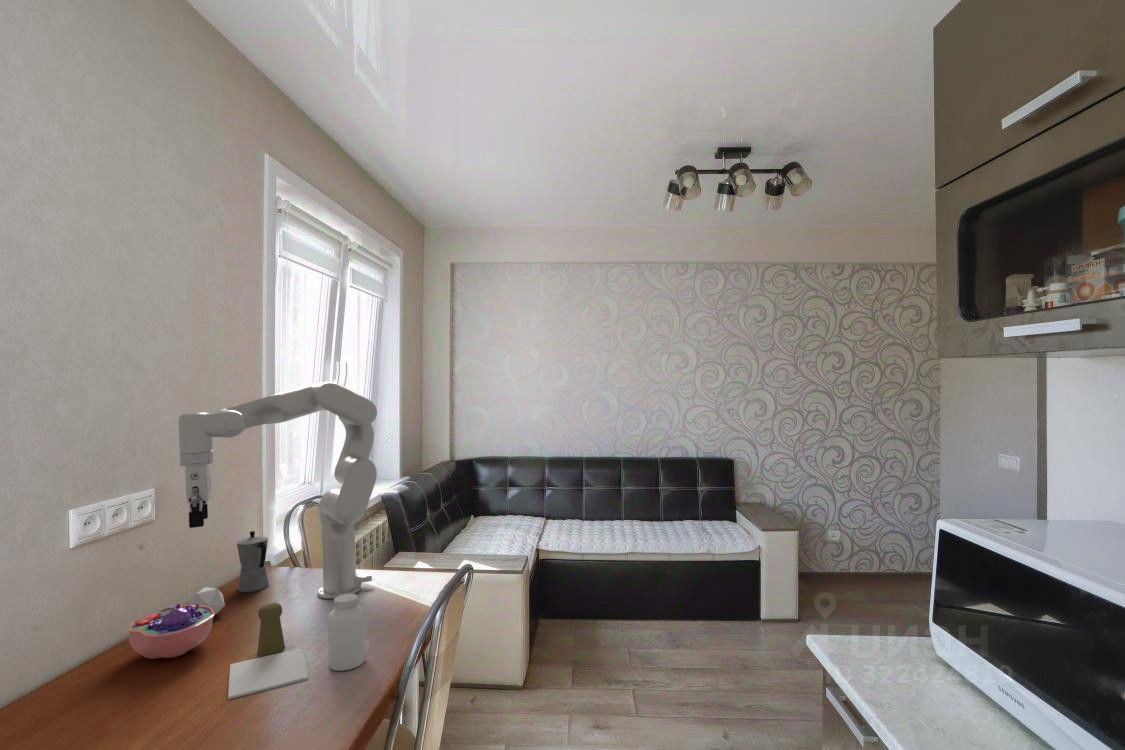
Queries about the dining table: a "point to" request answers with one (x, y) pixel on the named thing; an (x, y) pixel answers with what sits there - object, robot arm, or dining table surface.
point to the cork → (270, 630)
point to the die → (209, 599)
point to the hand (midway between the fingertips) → (198, 522)
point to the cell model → (171, 630)
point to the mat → (266, 673)
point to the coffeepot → (252, 563)
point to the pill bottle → (346, 633)
